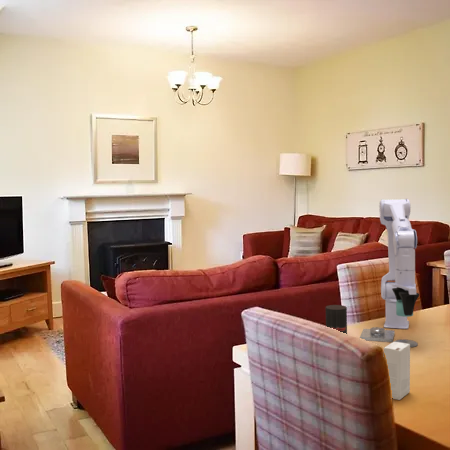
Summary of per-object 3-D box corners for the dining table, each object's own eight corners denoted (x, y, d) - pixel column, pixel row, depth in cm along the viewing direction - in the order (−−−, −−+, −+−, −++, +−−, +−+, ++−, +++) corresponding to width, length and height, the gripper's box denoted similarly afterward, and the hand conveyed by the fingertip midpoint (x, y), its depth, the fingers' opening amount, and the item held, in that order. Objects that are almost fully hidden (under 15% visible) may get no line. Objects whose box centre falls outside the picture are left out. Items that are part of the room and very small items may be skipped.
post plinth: (363, 331, 185) (363, 324, 184) (394, 333, 181) (394, 326, 181) (359, 339, 175) (359, 332, 175) (392, 342, 172) (392, 334, 172)
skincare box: (393, 388, 134) (392, 340, 133) (411, 392, 131) (410, 343, 130) (382, 396, 129) (382, 346, 128) (400, 401, 127) (400, 350, 126)
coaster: (394, 340, 174) (394, 338, 174) (417, 341, 171) (417, 340, 171) (393, 346, 167) (393, 345, 167) (417, 348, 165) (417, 347, 165)
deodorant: (347, 362, 155) (346, 309, 153) (326, 361, 156) (325, 309, 155) (347, 355, 160) (346, 305, 159) (326, 354, 162) (325, 304, 160)
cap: (410, 312, 171) (410, 298, 171) (415, 316, 166) (415, 301, 166) (394, 312, 171) (394, 298, 171) (398, 316, 166) (398, 301, 166)
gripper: (385, 266, 175) (385, 307, 176) (399, 273, 160) (399, 319, 161) (407, 265, 175) (407, 307, 176) (423, 273, 160) (423, 318, 161)
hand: (405, 313), depth 169 cm, fingers closed on cap, 5 cm apart
